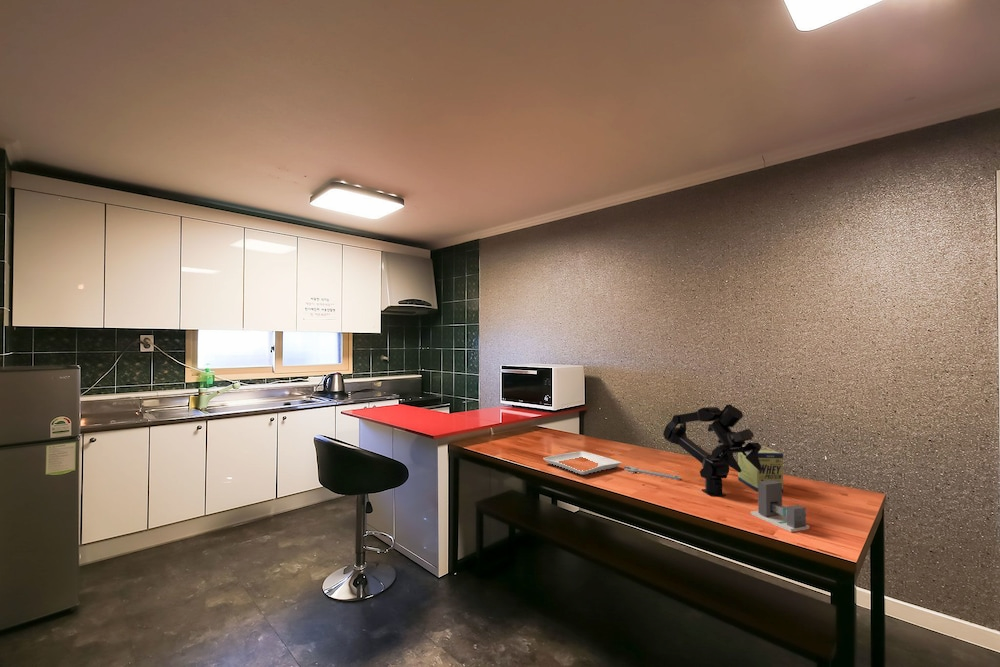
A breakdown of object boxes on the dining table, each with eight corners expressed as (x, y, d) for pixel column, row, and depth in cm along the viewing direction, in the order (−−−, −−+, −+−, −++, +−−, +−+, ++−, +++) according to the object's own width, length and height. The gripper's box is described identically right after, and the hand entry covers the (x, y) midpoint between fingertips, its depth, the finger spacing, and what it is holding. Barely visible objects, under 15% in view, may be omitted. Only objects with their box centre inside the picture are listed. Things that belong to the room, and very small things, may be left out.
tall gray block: (758, 513, 143) (758, 481, 143) (773, 510, 145) (773, 480, 146) (766, 516, 140) (766, 484, 141) (782, 514, 142) (781, 482, 143)
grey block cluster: (755, 511, 145) (755, 494, 146) (766, 509, 147) (766, 492, 147) (794, 528, 132) (794, 509, 132) (805, 526, 134) (805, 507, 134)
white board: (750, 514, 145) (750, 511, 145) (768, 511, 148) (768, 508, 148) (790, 532, 132) (790, 528, 132) (809, 529, 134) (809, 525, 134)
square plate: (622, 469, 199) (622, 461, 199) (582, 479, 183) (582, 470, 183) (581, 456, 221) (581, 449, 221) (542, 464, 205) (542, 456, 205)
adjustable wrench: (681, 480, 184) (681, 476, 184) (676, 483, 179) (676, 479, 179) (626, 468, 200) (626, 465, 200) (621, 471, 195) (621, 468, 195)
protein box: (757, 492, 168) (757, 453, 168) (737, 479, 183) (737, 444, 184) (784, 492, 167) (783, 453, 168) (761, 480, 183) (761, 444, 183)
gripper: (716, 422, 153) (743, 460, 142) (756, 420, 159) (784, 456, 148) (701, 440, 161) (725, 477, 149) (739, 437, 166) (765, 473, 155)
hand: (750, 470), depth 150 cm, fingers open, 9 cm apart
